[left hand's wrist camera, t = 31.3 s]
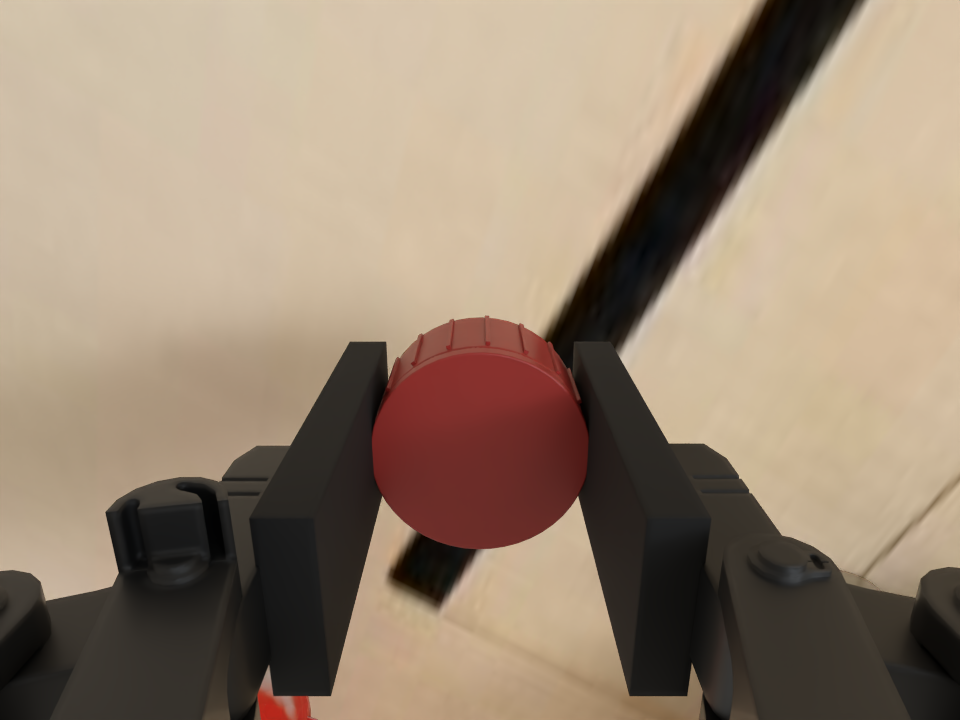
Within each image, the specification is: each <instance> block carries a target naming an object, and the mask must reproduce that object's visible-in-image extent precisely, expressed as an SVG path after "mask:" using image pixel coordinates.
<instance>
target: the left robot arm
mask: <svg viewBox="0 0 960 720" xmlns="http://www.w3.org/2000/svg"><path fill="white" fill-rule="evenodd" d="M573 378H574V381H575V384H576V386H577V389H578V392H579V395H580V398H581V401H582V403H581V404H580V407H581V410H582V413H583V415H584V418H585V421H586V425H587V428H588V432H589V442H588V459H587V474H586V479H585V482H584V485H583V487H582V489H581V491H580V493H579V495H578V497H579V501H580V505H581V508H582V512H583V516H584V520H585V524H586V528H587V532H588V536H589V540H590V544H591V547H592V551H593V555H594V559H595V563H596V567H597V571H598V575H599V579H600V582H601V586H602V590H603V594H604V598H605V602H606V606H607V610H608V614H609V618H610V621H611V625H612V629H613V633H614V637H615V641H616V645H617V649H618V653H619V656H620V660H621V664H622V668H623V672H624V676H625V680H626V684H627V688H628V692H629V695H630V696H687V693H688V686H689V679H690V672H691V664H693V666H694V669H695V672H696V674H697V677H698V679H699V682H700V685H701V687H702V690H703V696H702V702H701V709H700V716H699V720H960V568H953V567H947V568H941V569H936V570H931V571H929V572H928V573H927V574H926V575H925V576H924V577H922V578H921V581H920V584H919V588H918V592H917V595H916V598H912V597H907V596H902V595H897V594H892V593H887V592H882V591H877V590H872V589H868V588H863V587H860V586H856V585H852V584H848V583H846V581H845V579H844V577H843V575H842V573H841V571H840V570H839V569H838V567H837V566H836V565H835V564H834V562H833V561H832V560H831V559H830V558H829V557H828V556H826V555H825V554H823V553H822V552H820V551H819V550H817V549H816V548H814V547H813V546H810V545H808V544H806V543H803V542H801V541H798V540H796V539H794V538H790V537H785V536H782V535H781V534H780V532H779V531H778V530H777V528H776V527H775V525H774V524H773V523H772V521H771V520H770V518H769V517H768V516H767V514H766V513H765V511H764V510H763V509H762V507H761V506H760V504H759V503H758V502H757V500H756V499H755V497H754V496H753V495H752V493H749V489H748V488H747V486H746V485H745V483H744V482H743V481H742V479H739V475H738V474H737V472H736V471H735V470H734V468H733V467H732V465H731V464H730V463H729V461H728V460H727V458H725V457H724V456H722V455H720V454H719V453H717V452H716V451H714V450H713V449H711V448H710V447H708V446H707V445H705V444H669V443H668V441H667V440H666V438H665V436H664V434H663V433H662V431H661V429H660V428H659V426H658V424H657V422H656V421H655V419H654V417H653V415H652V414H651V412H650V410H649V408H648V407H647V405H646V403H645V401H644V400H643V398H642V396H641V394H640V393H639V391H638V389H637V387H636V386H635V384H634V382H633V380H632V379H631V377H630V375H629V373H628V372H627V370H626V368H625V366H624V365H623V363H622V361H621V359H620V358H619V356H618V354H617V352H616V351H615V349H614V347H613V345H612V344H611V342H574V357H573ZM387 383H388V368H387V348H386V342H350V343H349V345H348V346H347V348H346V350H345V352H344V353H343V355H342V357H341V359H340V360H339V362H338V364H337V365H336V367H335V369H334V371H333V372H332V374H331V376H330V378H329V379H328V381H327V383H326V385H325V386H324V388H323V390H322V392H321V393H320V395H319V397H318V399H317V400H316V402H315V404H314V406H313V407H312V409H311V411H310V413H309V414H308V416H307V418H306V420H305V421H304V423H303V425H302V427H301V428H300V430H299V432H298V434H297V435H296V437H295V439H294V441H293V442H292V444H291V446H256V447H255V448H253V449H251V450H250V451H248V452H247V453H245V454H244V455H242V456H241V457H239V458H238V459H236V460H235V461H234V462H233V463H232V465H231V466H230V467H229V469H228V470H227V472H226V473H225V474H224V476H223V477H222V481H219V482H218V481H214V480H210V479H206V478H202V477H179V478H174V479H168V480H162V481H157V482H154V483H151V484H149V485H146V486H143V487H140V488H137V489H135V490H133V491H131V492H130V493H128V494H126V495H125V496H123V497H121V498H119V499H118V500H116V502H115V503H114V504H113V505H112V506H111V507H110V508H109V509H108V510H107V511H106V517H107V522H108V526H109V531H110V535H111V540H112V544H113V549H114V553H115V558H116V562H117V567H118V571H119V574H118V576H117V578H116V580H115V582H114V584H113V586H112V587H109V588H105V589H101V590H97V591H93V592H88V593H83V594H78V595H73V596H68V597H63V598H58V599H54V600H49V601H45V597H44V593H43V589H42V586H41V582H40V581H39V580H38V579H37V578H35V577H34V576H33V575H32V574H31V573H25V572H20V571H15V570H9V571H0V720H261V717H260V709H259V702H258V696H257V694H258V692H259V689H260V687H261V684H262V681H263V679H264V676H265V674H266V671H267V668H268V666H269V668H270V676H271V683H272V690H273V696H331V693H332V689H333V686H334V682H335V678H336V674H337V670H338V666H339V662H340V658H341V654H342V650H343V647H344V643H345V639H346V635H347V631H348V627H349V623H350V619H351V615H352V611H353V608H354V604H355V600H356V596H357V592H358V588H359V584H360V580H361V576H362V572H363V569H364V565H365V561H366V557H367V553H368V549H369V545H370V541H371V537H372V534H373V530H374V526H375V522H376V518H377V514H378V510H379V506H380V502H381V498H382V494H381V492H380V490H379V488H378V486H377V483H376V481H375V478H374V467H373V451H372V430H373V426H374V423H375V419H376V416H377V413H378V410H379V407H380V404H381V401H382V398H383V395H384V392H385V389H386V386H387Z"/></svg>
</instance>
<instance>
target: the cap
mask: <svg viewBox="0 0 960 720" xmlns="http://www.w3.org/2000/svg"><path fill="white" fill-rule="evenodd" d="M581 403H582V401H581V398H580V395H579V392H578V389H577V386H576V384H575V381H574V378H573V375H572V372H571V370H570V368H568V369H567V368H566V366H565V365H564V363H563V361H562V360H561V358H560V357H559V355H558V354H557V353H556V352H555V351H554V349H553V346H552V344H551V343H550V342H548V343H547V342H545V341H544V340H543V339H542V338H541V337H539V336H538V335H536V334H535V333H533V332H532V331H530V330H528V329H526V328H524V325H523V324H521V323H520V324H519V325H517V324H514V323H511V322H509V321H504V320H499V319H494V318H489V316H485V318H467V319H461V320H456V321H454V319H451V320H450V321H449V323H446V324H443V325H441V326H439V327H436V328H434V329H432V330H431V331H429V332H427V333H426V334H424V335H422V334H420V335H419V336H418V339H417V340H416V341H415V342H414V343H413V344H412V345H411V346H410V347H409V348H408V349H407V350H406V351H405V352H404V353H403V355H402V356H401V358H398V357H397V358H396V360H395V363H394V366H393V369H392V371H391V374H390V377H389V380H388V383H387V386H386V389H385V392H384V395H383V398H382V401H381V404H380V407H379V410H378V413H377V416H376V419H375V423H374V426H373V430H372V451H373V467H374V478H375V481H376V483H377V486H378V488H379V490H380V492H381V494H382V496H383V497H384V499H385V501H386V502H387V504H388V505H389V506H390V507H391V509H392V510H393V511H394V512H395V513H396V514H397V515H398V516H399V517H400V518H401V519H402V520H403V521H404V522H405V523H406V524H408V525H409V526H410V527H412V528H413V529H414V530H416V531H418V532H419V533H421V534H423V535H425V536H426V537H429V538H431V539H433V540H436V541H438V542H441V543H444V544H447V545H451V546H456V547H461V548H470V549H492V548H499V547H505V546H509V545H513V544H517V543H520V542H522V541H525V540H527V539H530V538H532V537H534V536H536V535H538V534H539V533H541V532H543V531H544V530H546V529H547V528H549V527H550V526H552V525H553V524H554V523H555V522H556V521H558V520H559V519H560V518H561V517H562V516H563V515H564V514H565V513H566V512H567V510H568V509H569V508H570V507H571V506H572V504H573V503H574V501H575V500H576V498H577V497H578V495H579V493H580V491H581V489H582V487H583V485H584V482H585V479H586V474H587V459H588V442H589V432H588V428H587V425H586V421H585V418H584V415H583V413H582V410H581V407H580V404H581Z"/></svg>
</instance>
